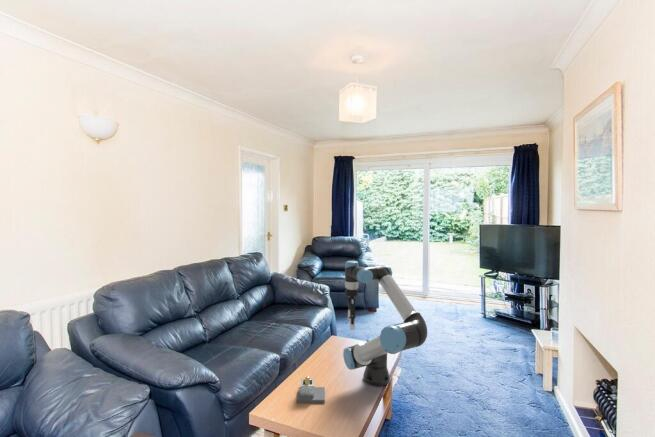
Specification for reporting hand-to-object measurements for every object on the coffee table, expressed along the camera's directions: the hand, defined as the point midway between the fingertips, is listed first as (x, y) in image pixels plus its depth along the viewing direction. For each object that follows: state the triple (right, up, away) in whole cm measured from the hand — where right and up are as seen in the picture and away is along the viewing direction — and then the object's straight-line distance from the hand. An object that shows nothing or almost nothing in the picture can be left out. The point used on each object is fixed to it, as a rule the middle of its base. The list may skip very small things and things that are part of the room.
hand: (351, 325), depth 194 cm
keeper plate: (-22, -32, -16) cm, 42 cm away
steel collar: (-24, -31, -16) cm, 42 cm away
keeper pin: (-24, -31, -16) cm, 42 cm away
